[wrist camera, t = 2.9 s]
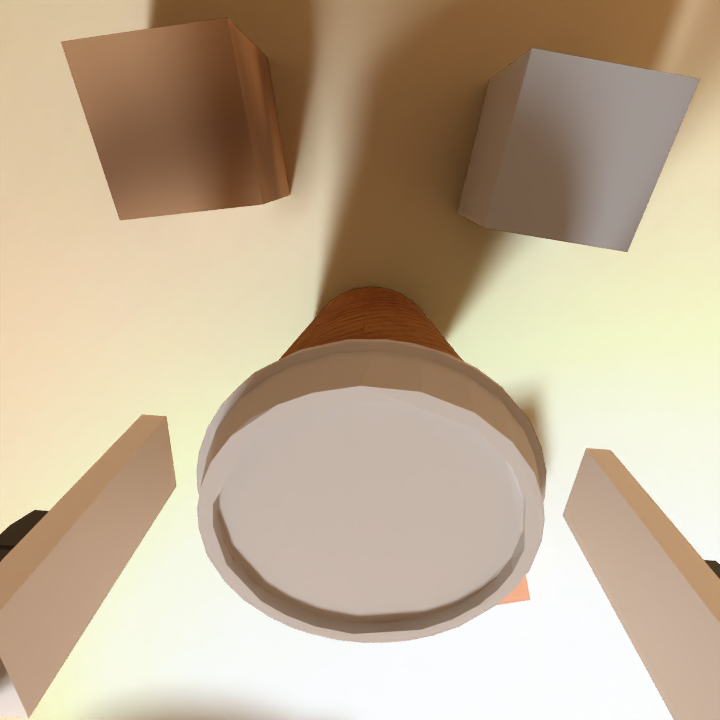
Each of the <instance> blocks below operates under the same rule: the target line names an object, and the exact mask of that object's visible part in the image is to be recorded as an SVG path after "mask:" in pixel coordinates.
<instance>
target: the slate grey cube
mask: <svg viewBox="0 0 720 720" xmlns="http://www.w3.org/2000/svg"><path fill="white" fill-rule="evenodd" d="M699 80H700V79H698V78H692V77H687V76H682V75H676V74H671V73H665V72H660V71H654V70H649V69H644V68H638V67H633V66H627V65H622V64H617V63H611V62H606V61H600V60H595V59H589V58H584V57H579V56H573V55H568V54H562V53H557V52H552V51H546V50H541V49H535V48H532V49H530V50H529V51H527V52H526V53H525V54H523V55H522V56H521V57H519V58H518V59H517V60H515V61H514V62H513V63H511V64H510V65H509V66H507V67H506V68H504V69H503V70H502V71H500V72H499V73H498V74H496V75H495V76H494V77H492V78H491V79H490V80H489V83H488V87H487V91H486V95H485V100H484V104H483V108H482V112H481V116H480V120H479V124H478V129H477V133H476V137H475V141H474V145H473V149H472V153H471V158H470V162H469V166H468V170H467V174H466V178H465V182H464V187H463V191H462V195H461V199H460V203H459V207H458V212H457V213H458V214H460V215H462V216H464V217H465V218H467V219H469V220H471V221H472V222H474V223H476V224H478V225H479V226H481V227H483V228H487V229H493V230H499V231H505V232H511V233H517V234H523V235H529V236H534V237H540V238H546V239H552V240H558V241H564V242H570V243H576V244H582V245H588V246H594V247H600V248H606V249H612V250H618V251H624V252H627V251H628V249H629V247H630V244H631V242H632V240H633V237H634V235H635V232H636V230H637V228H638V225H639V223H640V221H641V218H642V216H643V213H644V211H645V209H646V206H647V204H648V202H649V199H650V197H651V194H652V192H653V190H654V187H655V185H656V183H657V180H658V178H659V175H660V173H661V171H662V168H663V166H664V164H665V161H666V159H667V156H668V154H669V152H670V149H671V147H672V145H673V142H674V140H675V137H676V135H677V133H678V130H679V128H680V126H681V123H682V121H683V118H684V116H685V114H686V111H687V109H688V107H689V104H690V102H691V99H692V97H693V95H694V92H695V90H696V88H697V85H698V83H699Z"/></svg>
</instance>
